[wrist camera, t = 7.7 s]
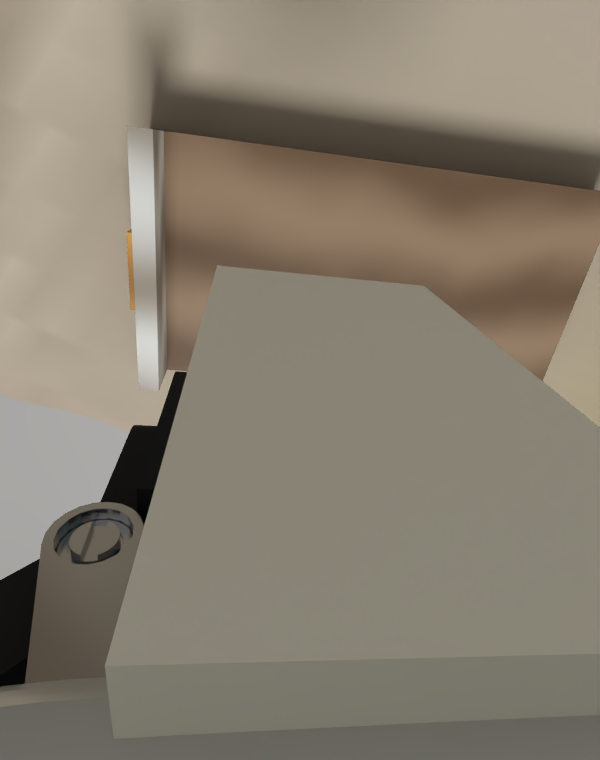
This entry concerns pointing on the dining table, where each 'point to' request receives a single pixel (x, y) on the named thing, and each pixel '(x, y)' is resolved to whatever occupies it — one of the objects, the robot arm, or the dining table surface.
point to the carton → (359, 525)
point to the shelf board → (347, 238)
